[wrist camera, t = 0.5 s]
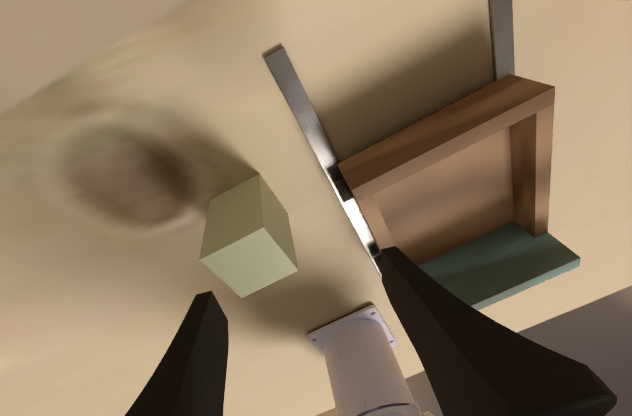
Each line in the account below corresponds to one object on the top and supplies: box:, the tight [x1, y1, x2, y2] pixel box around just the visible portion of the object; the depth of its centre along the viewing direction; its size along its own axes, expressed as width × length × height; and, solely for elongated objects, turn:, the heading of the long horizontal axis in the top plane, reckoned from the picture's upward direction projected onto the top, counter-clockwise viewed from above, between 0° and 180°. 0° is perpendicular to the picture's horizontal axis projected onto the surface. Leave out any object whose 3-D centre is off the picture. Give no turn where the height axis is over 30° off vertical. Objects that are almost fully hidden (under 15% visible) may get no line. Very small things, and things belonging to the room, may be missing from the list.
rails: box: [264, 0, 515, 278], centre depth 22 cm, size 22×14×1 cm, turn 25°
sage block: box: [199, 174, 299, 298], centre depth 19 cm, size 4×4×6 cm
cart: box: [333, 74, 580, 311], centre depth 21 cm, size 13×14×7 cm
